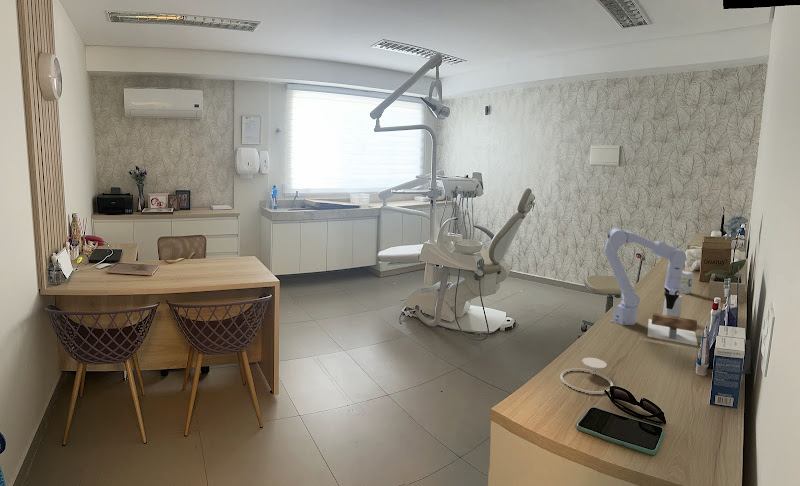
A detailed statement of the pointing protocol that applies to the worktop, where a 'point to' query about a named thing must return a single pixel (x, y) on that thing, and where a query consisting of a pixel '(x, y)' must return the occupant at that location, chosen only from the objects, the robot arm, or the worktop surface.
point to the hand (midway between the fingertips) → (669, 306)
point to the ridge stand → (671, 334)
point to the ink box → (686, 282)
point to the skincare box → (675, 310)
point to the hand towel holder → (594, 365)
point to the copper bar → (674, 322)
